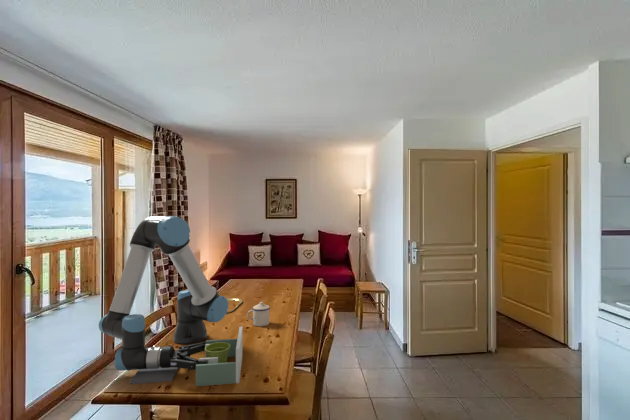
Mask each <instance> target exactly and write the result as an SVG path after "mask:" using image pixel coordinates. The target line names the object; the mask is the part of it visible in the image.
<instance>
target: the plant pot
mask: <svg viewBox="0 0 630 420" xmlns="http://www.w3.org/2000/svg"><path fill="white" fill-rule="evenodd" d="M229 348H230V344H228V343H225V342H217V343H212V344H209V345H207V346H206V347H205V351H206V352H205V351H204V352H205V354H206V353H207V357H208V358H212V357H218V363H227V362H228V358H229V357H228V352H229Z"/></svg>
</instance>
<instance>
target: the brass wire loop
mask: <svg viewBox="0 0 630 420" xmlns="http://www.w3.org/2000/svg"><path fill="white" fill-rule="evenodd" d="M225 298H226V299H227V300H228V301H233V300H235V302H238V301H239V303H238V304H237V305H236V306H235V307H234V308H233V309H232V310H229V311H228V310H227V313H226V314H229V313H232V312H234V311H235V310H236V309H237V308H238V307H240V305H241V304H242V302H243V300H242V299H241V298H238V297H237V298H235V297H233V298H232V297H231V298H230V297H228V298H227V297H225Z"/></svg>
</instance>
